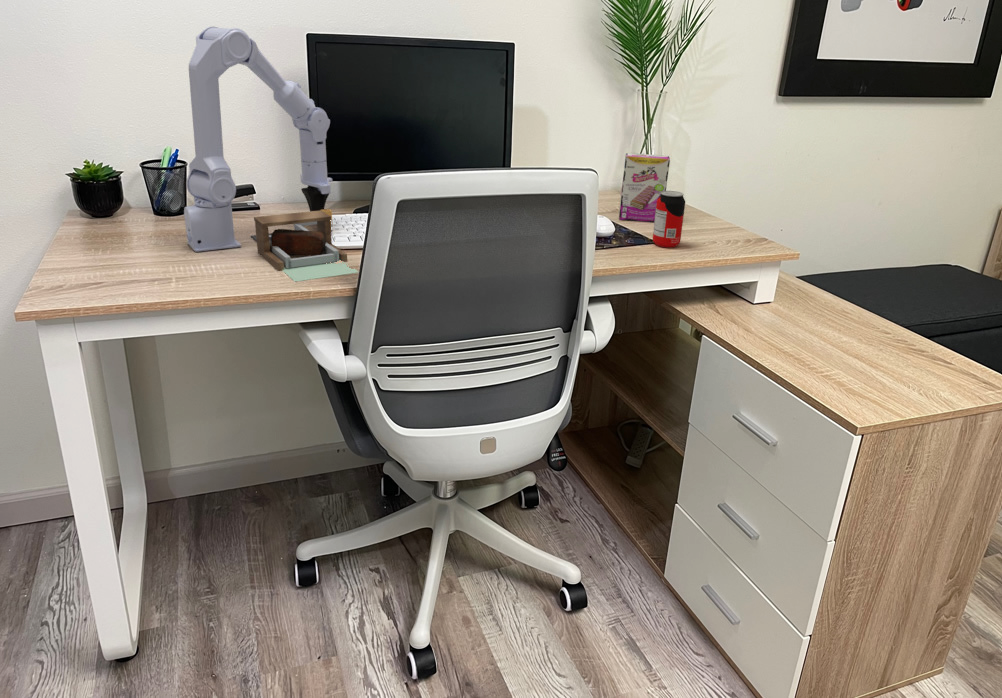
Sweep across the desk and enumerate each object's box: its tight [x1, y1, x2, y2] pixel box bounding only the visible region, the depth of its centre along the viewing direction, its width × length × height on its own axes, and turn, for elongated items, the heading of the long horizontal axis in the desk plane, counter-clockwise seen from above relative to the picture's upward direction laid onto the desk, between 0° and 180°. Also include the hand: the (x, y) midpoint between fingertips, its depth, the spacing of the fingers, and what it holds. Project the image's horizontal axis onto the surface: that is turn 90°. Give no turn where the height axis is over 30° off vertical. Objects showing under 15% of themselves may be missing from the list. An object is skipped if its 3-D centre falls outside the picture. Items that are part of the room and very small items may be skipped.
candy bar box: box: [618, 152, 671, 223], centre depth 198 cm, size 11×5×16 cm, turn 82°
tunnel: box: [253, 210, 348, 272], centre depth 160 cm, size 14×14×8 cm
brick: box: [271, 228, 326, 257], centre depth 162 cm, size 11×4×5 cm, turn 92°
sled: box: [269, 208, 339, 268], centre depth 167 cm, size 18×25×5 cm
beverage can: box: [652, 190, 686, 249], centre depth 177 cm, size 6×6×12 cm
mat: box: [281, 262, 359, 283], centre depth 154 cm, size 13×10×1 cm
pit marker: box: [250, 232, 273, 243], centre depth 174 cm, size 8×6×1 cm
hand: (317, 218), depth 185 cm, fingers closed
